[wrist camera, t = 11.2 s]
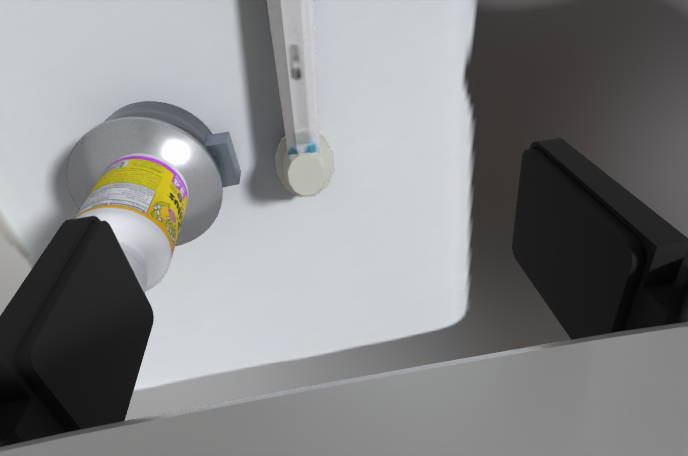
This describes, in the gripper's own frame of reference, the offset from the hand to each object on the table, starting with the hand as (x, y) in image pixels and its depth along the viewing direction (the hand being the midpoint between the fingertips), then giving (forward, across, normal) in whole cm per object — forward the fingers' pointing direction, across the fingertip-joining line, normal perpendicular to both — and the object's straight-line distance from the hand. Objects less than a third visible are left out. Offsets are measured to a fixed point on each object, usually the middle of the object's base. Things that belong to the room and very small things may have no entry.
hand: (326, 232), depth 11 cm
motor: (+32, +14, +11) cm, 37 cm away
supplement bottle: (+26, +14, +11) cm, 32 cm away
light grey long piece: (+32, 0, +3) cm, 33 cm away
